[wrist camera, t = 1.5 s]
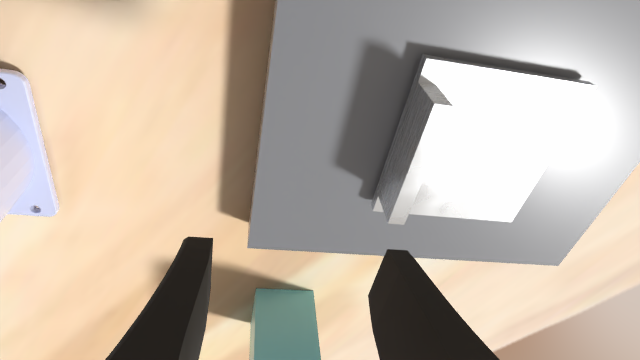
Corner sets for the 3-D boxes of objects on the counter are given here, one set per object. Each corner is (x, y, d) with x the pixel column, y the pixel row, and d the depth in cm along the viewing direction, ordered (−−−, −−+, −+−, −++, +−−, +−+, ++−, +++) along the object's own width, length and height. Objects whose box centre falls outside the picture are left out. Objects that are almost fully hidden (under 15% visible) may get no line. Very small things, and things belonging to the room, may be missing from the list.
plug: (250, 323, 30) (246, 425, 24) (256, 288, 27) (253, 392, 22) (303, 324, 30) (311, 423, 25) (313, 290, 28) (324, 391, 23)
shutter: (370, 204, 21) (381, 239, 19) (422, 54, 16) (444, 78, 14) (507, 216, 22) (530, 249, 20) (589, 81, 18) (630, 106, 16)
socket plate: (248, 223, 24) (247, 248, 22) (287, -101, 15) (289, -99, 13) (541, 243, 28) (558, 265, 26) (717, -2, 18) (759, 9, 17)
